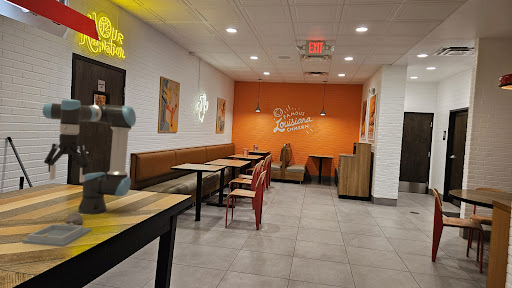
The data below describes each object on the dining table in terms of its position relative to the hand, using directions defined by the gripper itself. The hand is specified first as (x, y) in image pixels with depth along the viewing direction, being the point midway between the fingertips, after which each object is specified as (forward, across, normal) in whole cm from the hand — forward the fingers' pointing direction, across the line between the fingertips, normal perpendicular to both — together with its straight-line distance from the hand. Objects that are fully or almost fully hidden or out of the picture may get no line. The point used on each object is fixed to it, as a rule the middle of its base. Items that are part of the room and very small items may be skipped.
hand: (67, 180), depth 145 cm
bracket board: (+27, -4, +2) cm, 27 cm away
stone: (+27, -8, +22) cm, 36 cm away
